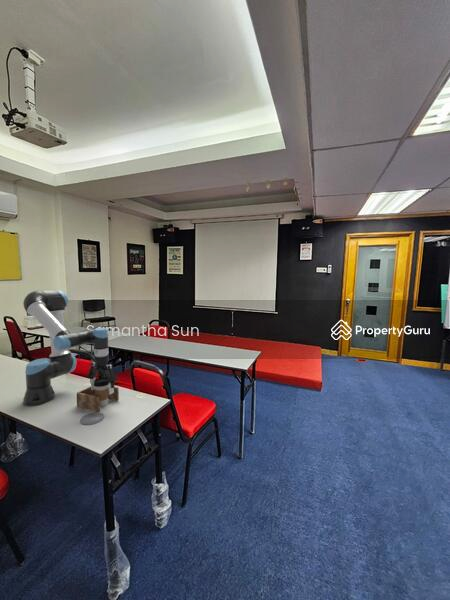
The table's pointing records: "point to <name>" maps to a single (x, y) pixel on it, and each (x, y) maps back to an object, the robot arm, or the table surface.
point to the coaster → (92, 418)
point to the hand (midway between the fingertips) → (102, 391)
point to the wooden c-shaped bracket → (93, 399)
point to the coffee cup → (102, 390)
